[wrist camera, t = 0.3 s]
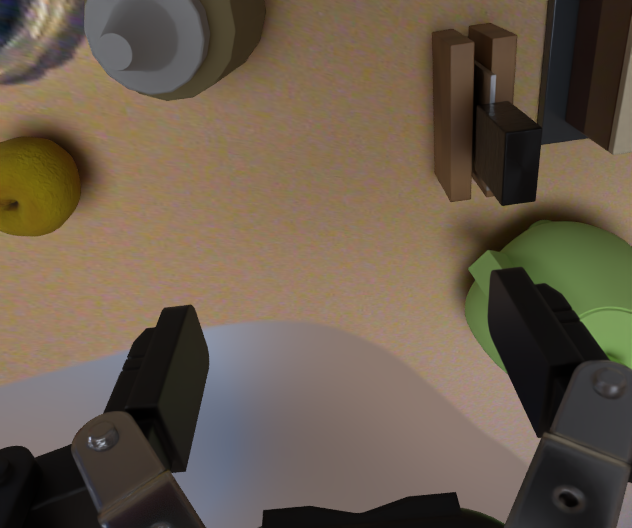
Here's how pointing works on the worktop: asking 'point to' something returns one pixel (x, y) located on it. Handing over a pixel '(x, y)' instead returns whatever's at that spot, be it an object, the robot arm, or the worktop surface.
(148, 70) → the squeeze bottle
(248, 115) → the worktop surface
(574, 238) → the teapot
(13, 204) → the apple
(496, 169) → the knife
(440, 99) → the knife block
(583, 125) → the cake
